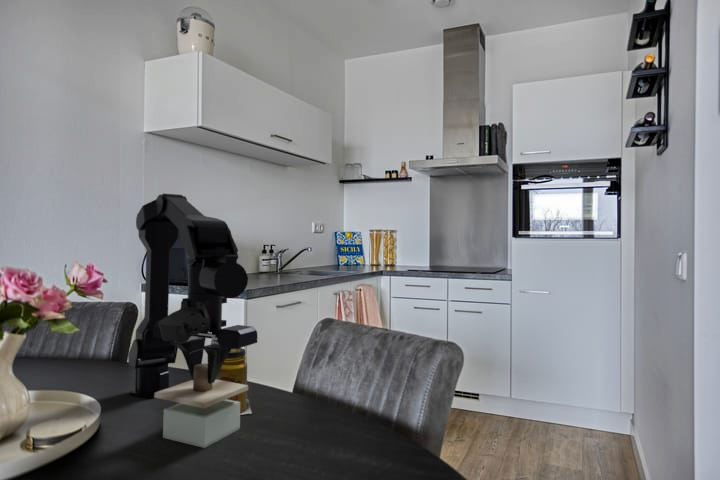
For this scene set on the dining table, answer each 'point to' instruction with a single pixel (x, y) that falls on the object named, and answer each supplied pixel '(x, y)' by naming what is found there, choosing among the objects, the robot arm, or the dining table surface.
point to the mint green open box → (201, 422)
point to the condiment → (236, 376)
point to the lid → (201, 390)
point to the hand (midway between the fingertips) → (203, 381)
